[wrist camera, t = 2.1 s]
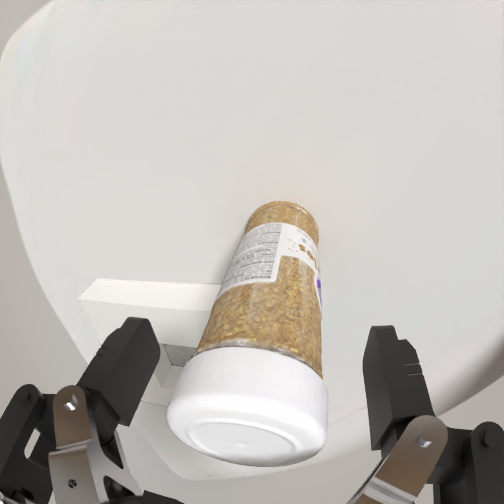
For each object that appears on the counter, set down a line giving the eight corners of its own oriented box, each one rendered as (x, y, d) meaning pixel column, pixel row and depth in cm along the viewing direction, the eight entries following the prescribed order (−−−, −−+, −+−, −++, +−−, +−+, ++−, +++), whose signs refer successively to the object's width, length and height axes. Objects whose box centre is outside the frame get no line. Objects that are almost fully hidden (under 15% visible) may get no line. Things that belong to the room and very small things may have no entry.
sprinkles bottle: (327, 252, 18) (341, 465, 7) (262, 272, 20) (212, 469, 8) (303, 187, 17) (298, 397, 5) (233, 212, 18) (128, 404, 6)
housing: (283, 285, 20) (280, 314, 17) (285, 396, 27) (282, 421, 24) (97, 278, 23) (78, 298, 20) (144, 379, 29) (134, 398, 27)
